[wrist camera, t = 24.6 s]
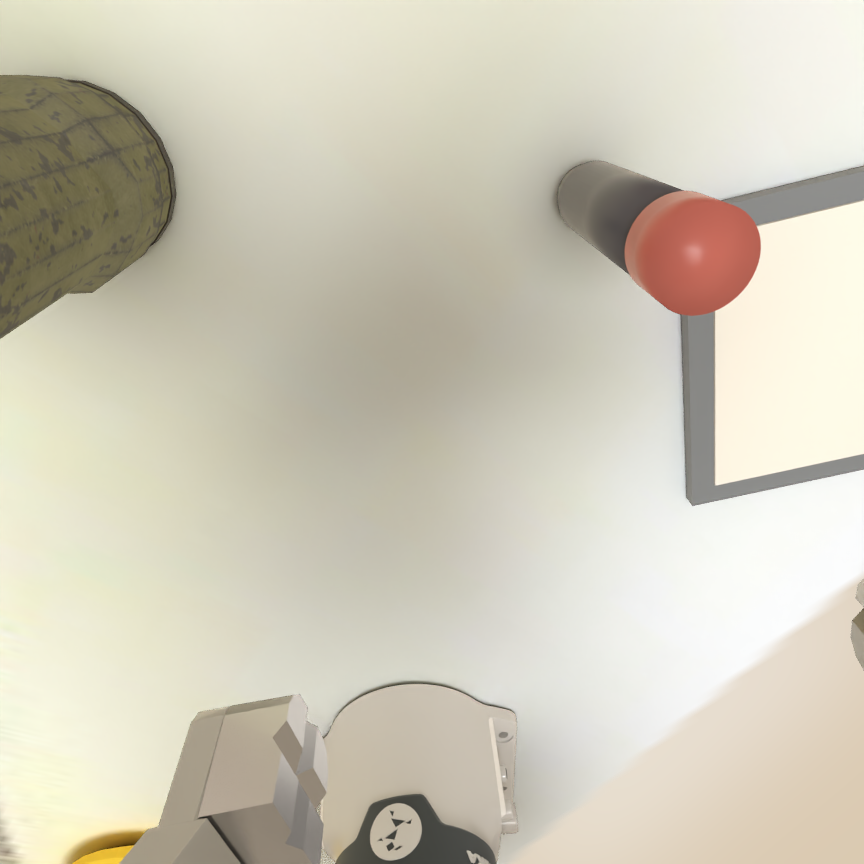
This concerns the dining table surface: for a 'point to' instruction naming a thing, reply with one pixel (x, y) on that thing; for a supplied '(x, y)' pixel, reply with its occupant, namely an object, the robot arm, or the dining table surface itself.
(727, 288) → the marker
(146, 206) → the thermos
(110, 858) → the yellow lid
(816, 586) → the dining table surface
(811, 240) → the writing board
